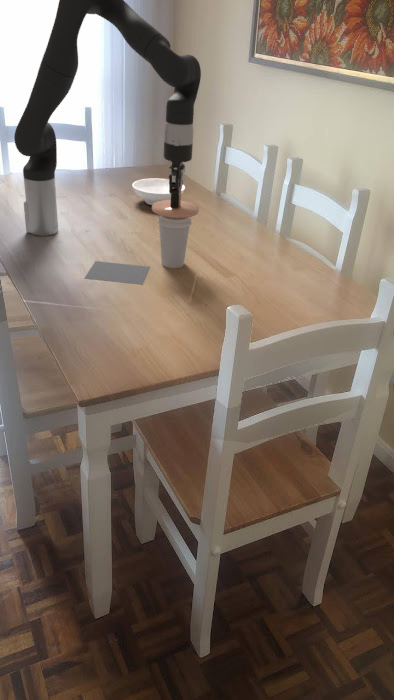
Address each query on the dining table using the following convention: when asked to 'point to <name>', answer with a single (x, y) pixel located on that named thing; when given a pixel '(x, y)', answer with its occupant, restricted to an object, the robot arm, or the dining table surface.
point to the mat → (118, 272)
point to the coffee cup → (173, 240)
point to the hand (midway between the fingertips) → (175, 205)
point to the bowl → (153, 189)
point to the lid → (181, 212)
